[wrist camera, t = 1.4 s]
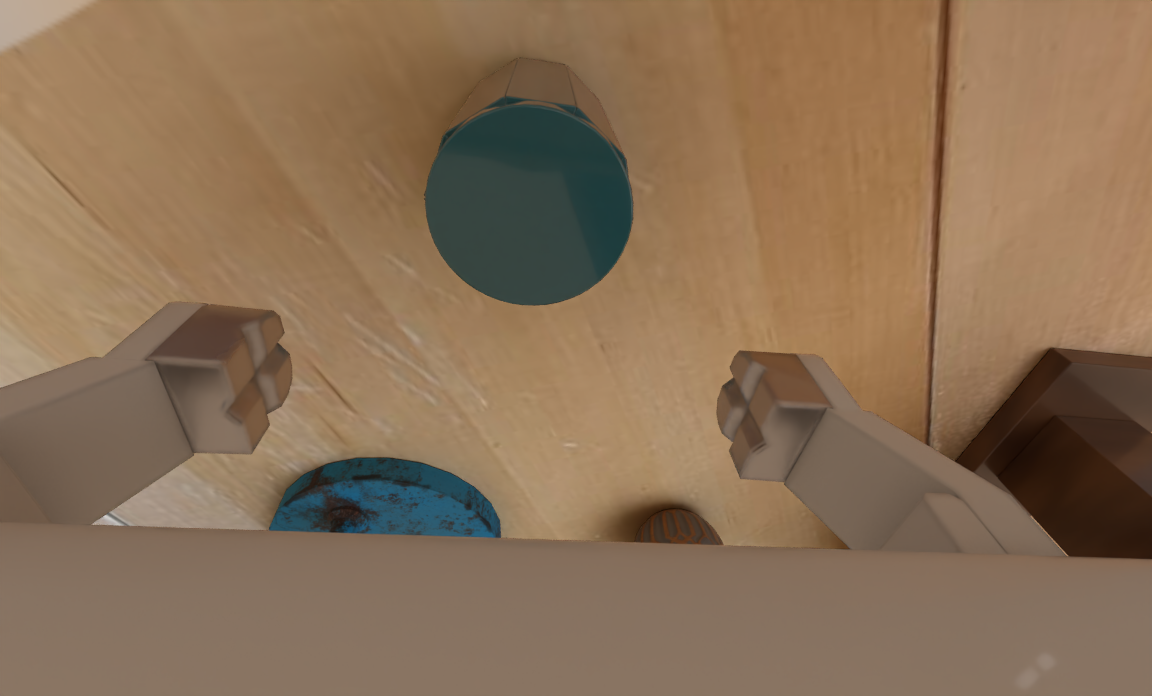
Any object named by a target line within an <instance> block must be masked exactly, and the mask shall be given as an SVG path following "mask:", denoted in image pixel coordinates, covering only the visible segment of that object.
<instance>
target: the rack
mask: <svg viewBox="0 0 1152 696" xmlns="http://www.w3.org/2000/svg"><path fill="white" fill-rule="evenodd" d="M1151 432H1152V358H1149V357H1139V356H1129V355H1118V354H1108V353H1097V352H1087V351H1076V350H1066V349H1055V348H1052V349H1050V351H1049V352H1048V353H1047V354H1046V355H1045V356H1044V358H1043V359H1042V360H1041V361H1040V362H1039V364H1038V365H1037V366H1036V367H1035V368H1034V370H1033V371H1032V372H1031V373H1030V374H1029V375H1028V377H1027V378H1026V379H1025V380H1024V381H1023V383H1022V384H1021V385H1020V386H1019V387H1018V388H1017V390H1016V391H1015V392H1014V393H1013V394H1012V396H1011V397H1010V398H1009V399H1008V400H1007V401H1006V403H1005V404H1004V405H1003V406H1002V407H1001V409H1000V410H999V411H998V412H997V413H996V414H995V416H994V417H993V418H992V419H991V420H990V422H989V423H988V424H987V425H986V426H985V427H984V429H983V430H982V431H981V432H980V433H979V435H978V436H977V437H976V438H975V439H974V441H973V442H972V443H971V444H970V445H969V446H968V448H967V449H966V450H965V451H964V452H963V454H962V455H961V456H960V457H959V458H958V459H957V461H956V463H958V464H959V465H961V466H963V467H964V468H966V469H968V470H969V471H971V472H973V473H974V474H976V475H978V476H979V477H981V478H983V479H984V480H986V481H988V482H989V483H991V484H993V485H994V486H996V487H998V488H999V489H1001V490H1003V491H1004V492H1006V493H1008V494H1009V495H1011V496H1012V497H1013V498H1014V499H1015V500H1016V502H1017V503H1018V504H1019V505H1020V506H1021V507H1022V508H1023V509H1024V510H1025V511H1026V512H1027V513H1028V515H1029V516H1032V517H1033V518H1034V519H1035V520H1036V521H1037V522H1038V523H1039V524H1040V525H1041V526H1042V527H1043V529H1044V530H1045V531H1046V532H1047V533H1048V534H1049V535H1050V536H1051V537H1052V538H1053V540H1054V541H1055V542H1056V543H1057V544H1058V545H1059V546H1060V547H1061V548H1062V549H1063V550H1064V552H1065V553H1066V554H1067V555H1068V556H1069V557H1100V558H1131V559H1152V433H1151Z"/></svg>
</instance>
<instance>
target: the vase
mask: <svg viewBox="0 0 1152 696" xmlns="http://www.w3.org/2000/svg"><path fill="white" fill-rule="evenodd" d="M634 542H639V543H668V544H698V545H723V542H722V541H721V539H720V537H719V535H718V534H717V533H716V531H715V530H714V529H713V527H712V526H711V525H710V524H709V523H708V522H707V521H706V520H704V519H703V518H701V517H700V516H698V515H696V514H694V513H692V512H689V511H686V510H682V509H668V510H664V511H661V512H658V513H656V514H654V515H653V516H651V517H650V518H649V519H648V520H647V521H646V522H645V523H644V524H643V525H642V527H641V528H640V530H639V532H638V533H637V535H636V538H635V541H634Z"/></svg>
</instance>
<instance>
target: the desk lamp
mask: <svg viewBox="0 0 1152 696" xmlns="http://www.w3.org/2000/svg"><path fill="white" fill-rule="evenodd" d="M269 531H299V532H329V533H360V534H391V535H423V536H454V537H485V538H501V531H500V520H499V518H498V516H497V514H496V512H495V510H494V508H493V506H492V504H491V503H490V502H489V501H488V500H487V499H486V498H485V497H484V496H483V495H482V494H481V493H480V492H479V491H478V490H477V489H476V488H475V487H473V486H471V485H470V484H468V483H466V482H465V481H463V480H461V479H460V478H458V477H456V476H454V475H453V474H451V473H448V472H445V471H442V470H440V469H437V468H434V467H431V466H428V465H425V464H422V463H417V462H411V461H404V460H398V459H392V458H356V459H351V460H346V461H341V462H336V463H331V464H327V465H324V466H322V467H320V468H318V469H315V470H313V471H311V472H309V473H306V474H304V475H303V476H301V477H300V478H299V479H298V480H297V481H296V482H295V483H294V484H292V485H291V486H290V487H289V488H288V489H287V490H286V492H285V494H284V496H283V498H282V501H281V503H280V505H279V507H278V509H277V512H276V514H275V516H274V518H273V521H272V523H271V525H270V528H269Z"/></svg>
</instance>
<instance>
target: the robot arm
mask: <svg viewBox="0 0 1152 696" xmlns="http://www.w3.org/2000/svg"><path fill="white" fill-rule="evenodd" d="M284 333H285V332H284V328H283V325H282V321H281V318H280V316H279V315H278V314H277V313H276V312H274V311H272V310H262V309H253V308H243V307H233V306H224V305H214V304H210V305H209V304H205V303H192V302H179V301H178V302H171V303H168V304H166V305H165V306H164V307H163V308H162V309H160V310H159V311H158V312H157V313H156V314H154V315H153V316H152V317H151V318H150V319H148V320H147V321H146V322H145V323H144V324H142V325H141V326H140V327H139V328H138V329H136V330H135V331H134V332H133V333H132V334H130V335H129V336H128V337H127V338H126V339H124V340H123V341H122V342H121V343H120V344H119V345H117V346H116V347H115V348H114V349H113V350H111V351H110V352H109V353H108V354H107V355H105V356H104V357H103V358H101V357H89V358H86V359H84V360H81V361H78V362H75V363H72V364H69V365H66V366H63V367H60V368H57V369H54V370H52V371H49V372H46V373H43V374H40V375H37V376H34V377H31V378H28V379H25V380H22V381H20V382H17V383H14V384H11V385H8V386H5V387H2V388H0V696H1152V559H1131V558H1100V557H1069V556H1066V555H1065V554H1064V553H1063V552H1062V550H1061V549H1060V548H1059V547H1058V546H1057V545H1056V544H1055V543H1054V542H1053V541H1052V540H1051V538H1050V537H1049V536H1048V535H1047V534H1046V533H1045V532H1044V531H1043V530H1042V529H1041V528H1040V527H1039V525H1038V524H1037V523H1036V522H1035V521H1034V520H1033V519H1032V518H1031V517H1030V516H1029V515H1028V513H1027V512H1026V511H1025V510H1024V509H1023V508H1022V507H1021V506H1020V505H1019V504H1018V503H1017V502H1016V500H1015V499H1014V498H1013V497H1012V496H1011V495H1009V494H1008V493H1006V492H1004V491H1003V490H1001V489H999V488H998V487H996V486H994V485H993V484H991V483H989V482H988V481H986V480H984V479H983V478H981V477H979V476H978V475H976V474H974V473H973V472H971V471H969V470H968V469H966V468H964V467H963V466H961V465H959V464H958V463H956V462H954V461H953V460H951V459H949V458H948V457H946V456H944V455H943V454H941V453H939V452H938V451H936V450H934V449H933V448H931V447H929V446H928V445H926V444H924V443H923V442H921V441H919V440H918V439H916V438H914V437H913V436H911V435H909V434H908V433H906V432H904V431H903V430H901V429H899V428H898V427H896V426H894V425H893V424H891V423H889V422H888V421H886V420H884V419H883V418H881V417H879V416H878V415H876V414H874V413H873V412H871V411H863V410H862V409H861V408H860V406H859V405H858V404H857V402H856V401H855V400H854V399H853V397H852V396H851V395H850V393H849V392H848V391H847V389H846V388H845V387H844V385H843V384H842V383H841V382H840V380H839V379H838V378H837V376H836V375H835V374H834V372H833V371H832V370H831V368H830V367H829V366H828V365H827V363H826V362H825V361H824V359H823V358H821V357H819V356H817V355H815V354H794V353H790V354H787V353H771V352H756V351H740V350H739V351H738V353H737V354H736V355H735V356H734V358H733V361H732V363H731V365H730V370H731V372H732V375H733V378H732V379H731V380H730V381H728V382H727V383H726V384H724V385H723V386H722V388H721V391H720V394H719V397H718V400H717V420H718V425H719V427H720V430H721V432H722V434H723V435H724V436H726V437H727V438H728V439H729V440H731V441H732V442H733V443H732V445H731V448H730V450H729V452H730V455H731V457H732V460H733V462H734V464H735V467H736V469H737V472H738V474H739V477H740V479H750V480H763V481H776V482H785V483H784V485H785V486H786V487H787V488H788V489H789V490H790V491H792V492H793V493H794V494H795V495H796V496H797V497H798V498H799V499H800V500H801V501H802V502H803V503H804V504H805V505H806V506H807V507H808V508H809V509H810V510H811V511H812V512H813V513H814V514H815V515H816V516H817V517H818V518H819V519H820V520H821V521H822V522H823V523H824V524H825V525H826V526H827V527H828V528H829V529H830V530H831V531H832V532H833V533H834V534H835V535H837V536H838V537H839V538H840V539H841V540H842V541H843V542H844V543H845V544H846V545H847V546H848V547H849V548H850V549H821V548H788V547H757V546H728V545H698V544H668V543H639V542H609V541H578V540H547V539H516V538H485V537H454V536H423V535H391V534H360V533H329V532H299V531H268V530H237V529H206V528H175V527H144V526H113V525H91V524H92V523H94V522H95V521H97V520H98V519H100V518H101V517H103V516H104V515H106V514H107V513H109V512H110V511H112V510H113V509H115V508H116V507H118V506H119V505H121V504H122V503H124V502H125V501H127V500H128V499H130V498H131V497H133V496H134V495H136V494H137V493H139V492H140V491H141V490H143V489H144V488H146V487H147V486H149V485H150V484H152V483H153V482H155V481H156V480H158V479H159V478H161V477H162V476H164V475H165V474H167V473H168V472H170V471H171V470H173V469H174V468H176V467H177V466H179V465H180V464H182V463H183V462H185V461H186V460H188V459H189V458H191V457H192V456H194V454H193V453H223V454H252V453H253V451H254V449H255V448H256V446H257V445H258V443H259V441H260V440H261V438H262V437H263V435H264V433H265V432H266V430H267V429H268V427H269V426H270V423H269V420H268V416H267V414H268V413H270V412H272V411H274V410H276V409H277V408H279V407H281V406H282V404H283V403H284V401H285V399H286V398H287V396H288V394H289V390H290V386H291V382H292V363H291V358H290V354H289V353H288V352H287V351H286V350H285V349H284V348H283V347H282V346H281V345H280V344H279V343H278V341H279V340H280V338H281V337H282V336H283V334H284Z"/></svg>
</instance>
